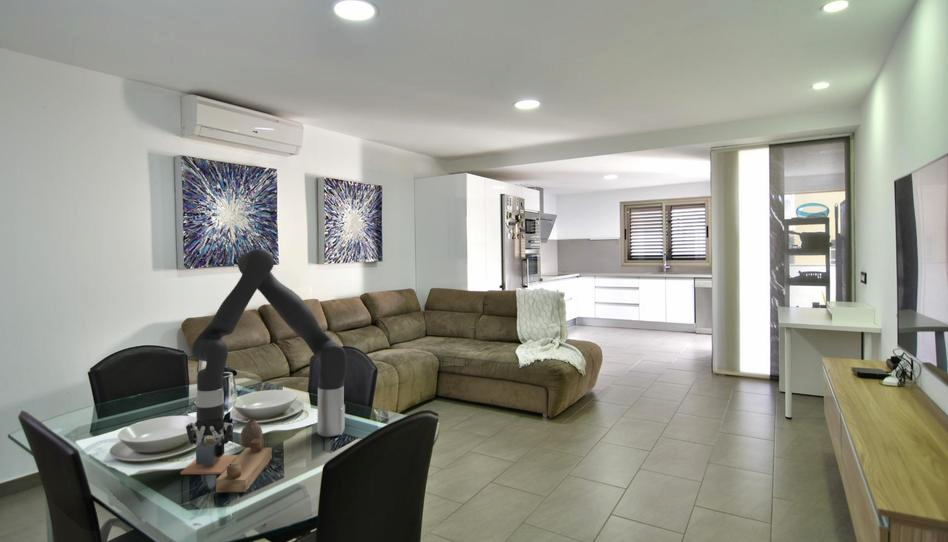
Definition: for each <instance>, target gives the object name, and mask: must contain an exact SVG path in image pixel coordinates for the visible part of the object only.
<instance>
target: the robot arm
mask: <svg viewBox="0 0 948 542" xmlns="http://www.w3.org/2000/svg"><path fill="white" fill-rule="evenodd" d="M274 264H275V260H274V256H273V255H272V253H271V252H270V251H269V250H267V249H264V248H255V249H253V250H249V251H247V252H244V253H243V254H242V255H240V257H239V258H238V261H237V267H238V270H239V272H240V273H241V277H240V278H239V280H238V282H237V283H236V285H235V286H234V288H233V289H232V290H231V291H230V293H229V294H228V295H226V297H225V298H224V300H223V301H222V303H221V304H220V306H219V307H218V309H217V311H216V313H215V314H214V316H213V318H212V320H211V322H210V323H209V324H208V325H207V326H206V327H205V328H204V329H203V330H202V331H201V332H200V334H199V335H198V336H197V337H196V339H195V340H194V341H193V344H192V347H191V354H192V356H193V358H195V360H198V361H203V362H205V363H206V364H205V367H204V368H202V369H200V370H199V371H198V373H197V375H196V398H195V399H196V400H195V405H196V407H195V408H196V414H195V415H196V416H195V418H196V421H195V422H190V423H188V424H187V425H186V426H185V429H186V433H187V437H188V441H189V443H190V444H191V445H195V446H198V445H199V444H200V443H201V442H202V441H204V440H205V439H206V436H207V437H208V436H210V435H211V436H214V439H215V440H216V441H217V444H218V446H217V457H221V456H222V454H223V455H225V444H228V443H229V442H230V441H231V439H232V436H233V435H232V434H233V432H234V427H235V423H234V422H230V423H229V422H226V420H225V419H224V418H225V416H224V415H225V405H224V404H225V403H224V400H225V398H224V396H225V394H224V385H223V384H224V383H223V382H224V380H223V379H224V377H223V374H224V371H225V367H226V363H227V360H228V355H229V349H228V345H227V344H226V342H225V341H223V340H222V339H223V337H226V336H230V335H232V334H233V332H234V331H235V328H236V327H237V326H238V323H239V321H240V319H241V318H242V316H243V314H244V312H245V310H246V308H247V306H248V304H249V302H250V301H251V300H252V298H253V296H254V295H255V293H256V292H257V290H258V291H259V292H260V293H261V295H262V296H263V297H264V298H265V300H266V301H267V302H268V303H269V304H270V305H271V306H272V308H273V309H274V310H275V312H276V313H277V314H278V316H279V317H280V318H281V319H282V320H283V321H284V323H286V325H287V326H288V327H289V328H290V329H291V330H292V331H293V332H294V333H295V334H296V335H297V336H298V337H300V338H301V339H302V340H303V341H304V342H305V343H306V345H307V346H308V348H309V349H310V350H311V352H312V354H313V355H314V357H315V359H316V360H317V361H318V363H319V365H320V371H319V372H320V375H319V378H318V379H317V435H319V436H321V437H328V438H329V437H335V436H342V435H343V433H344V431H345V428H346V424H345V423H346V415H345V414H346V404H345V403H344V399H345V397H344V396H345V395H344V394H345V388H344V387H345V380H346V374H347V353H346V350H345V349H344V348H343V346H341V345H339V344H338V343H336V342H335V341H334V340H333V339H332V338H331V337H330V336H329V335H328V334H327V333H326V332H325V331H324V330H323V329H322V327H321V325H319V322H318V321H317V319H316V316H315V315H314V313H313V311H312V310H311V309H310V307H309V305H307V304H306V302H305V301H304V300H303V298H302V297H300V295H298V294H297V293H296V292H295V291H293V290H292V289H291V288H289V287H288V286H286V285H285V284H283V283H281V282H280V280H278V278H276V276H275V275H274V274H273V273H272V270H273V268H274ZM223 428H224V431H225V434H224V432H223V430H222V429H223ZM196 429H197V430H198V431H199V432H198V433H199V434H198V435H197V432H196Z"/></svg>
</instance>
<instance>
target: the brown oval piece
mask: <svg viewBox="0 0 948 542" xmlns="http://www.w3.org/2000/svg"><path fill="white" fill-rule="evenodd" d="M239 438H240V442H241V445H242V446H243V447H245V448H250V443H251V441H252V440H253V439H263V429H262V427H261V426H260V424H258V423H257V421H256V420H255V419H248V420H247V422H246V424H245V425H244V426H243V428H242V429H241V432H240V437H239Z"/></svg>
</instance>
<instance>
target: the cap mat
mask: <svg viewBox="0 0 948 542" xmlns="http://www.w3.org/2000/svg"><path fill="white" fill-rule="evenodd" d="M238 456H239V455H238V454H223V455H222V456H221V457H220V458H219V459H218V460H217V461H216V462H215V463H214V464H213V465H196V458H194V460H193V461H192V462H189V464H188V465H187V466H186V467H185V468H184V469H182V471H180V475H221V474H222V473H223V472H224V471H225V470H226V469H227V467H228V466H229V465H230V464H231V463H232V462H233V461H234V460H235V459H236V458H237V457H238Z"/></svg>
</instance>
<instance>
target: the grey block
mask: <svg viewBox="0 0 948 542" xmlns="http://www.w3.org/2000/svg"><path fill="white" fill-rule="evenodd" d="M195 446H196V447H195V459H196V465H213V464H214V463H215V462H216V461H217V460H218V459H219V458H220V457H217V446H218V444H217V441H216V440H215V439H214V436H211V435H208V436H207V437H205V439H204V441H202V442H201V443H200V444H199V445H198V446H197V445H195ZM222 455H224V454H222Z"/></svg>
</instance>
